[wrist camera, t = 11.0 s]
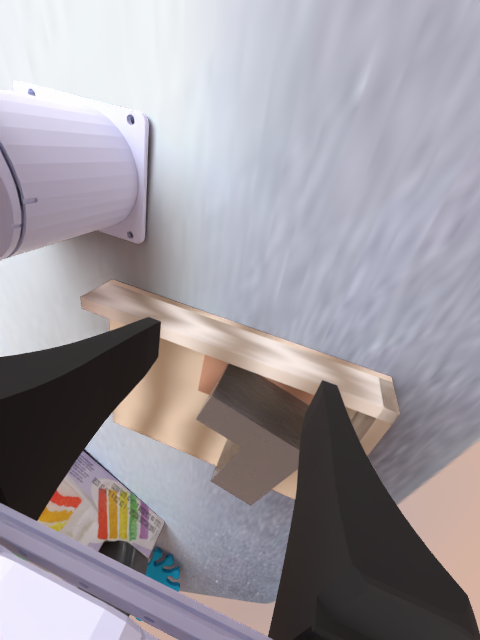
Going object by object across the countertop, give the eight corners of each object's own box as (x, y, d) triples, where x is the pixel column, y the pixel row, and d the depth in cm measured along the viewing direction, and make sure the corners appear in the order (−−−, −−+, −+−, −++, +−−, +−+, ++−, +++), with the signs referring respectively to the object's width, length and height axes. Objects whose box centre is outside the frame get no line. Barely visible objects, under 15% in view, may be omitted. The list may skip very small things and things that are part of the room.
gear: (193, 583, 47) (145, 639, 45) (193, 559, 53) (151, 608, 51) (145, 534, 47) (96, 588, 45) (151, 516, 53) (107, 563, 51)
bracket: (262, 459, 28) (250, 505, 25) (192, 416, 28) (170, 456, 25) (316, 409, 23) (312, 458, 20) (232, 357, 23) (211, 396, 20)
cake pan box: (173, 526, 43) (86, 718, 28) (153, 528, 46) (64, 706, 31) (79, 439, 39) (-81, 613, 24) (62, 447, 41) (-91, 609, 27)
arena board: (116, 418, 34) (94, 443, 31) (112, 279, 24) (80, 296, 21) (308, 499, 31) (304, 536, 28) (391, 377, 21) (400, 413, 18)
